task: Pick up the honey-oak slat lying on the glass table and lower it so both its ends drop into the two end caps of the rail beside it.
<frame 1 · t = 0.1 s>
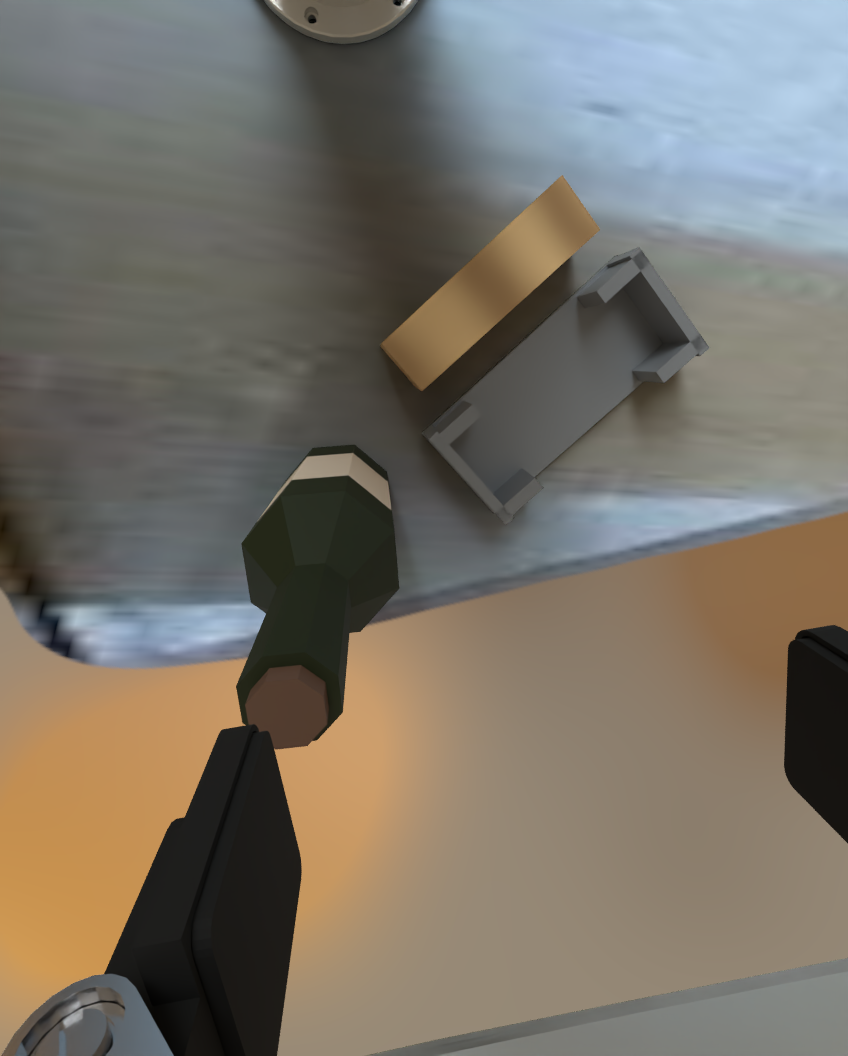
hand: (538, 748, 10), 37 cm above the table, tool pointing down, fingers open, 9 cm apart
wine bottle: (339, 494, 47), on the table
end-cap rail: (550, 390, 46), on the table
slat: (474, 296, 44), on the table
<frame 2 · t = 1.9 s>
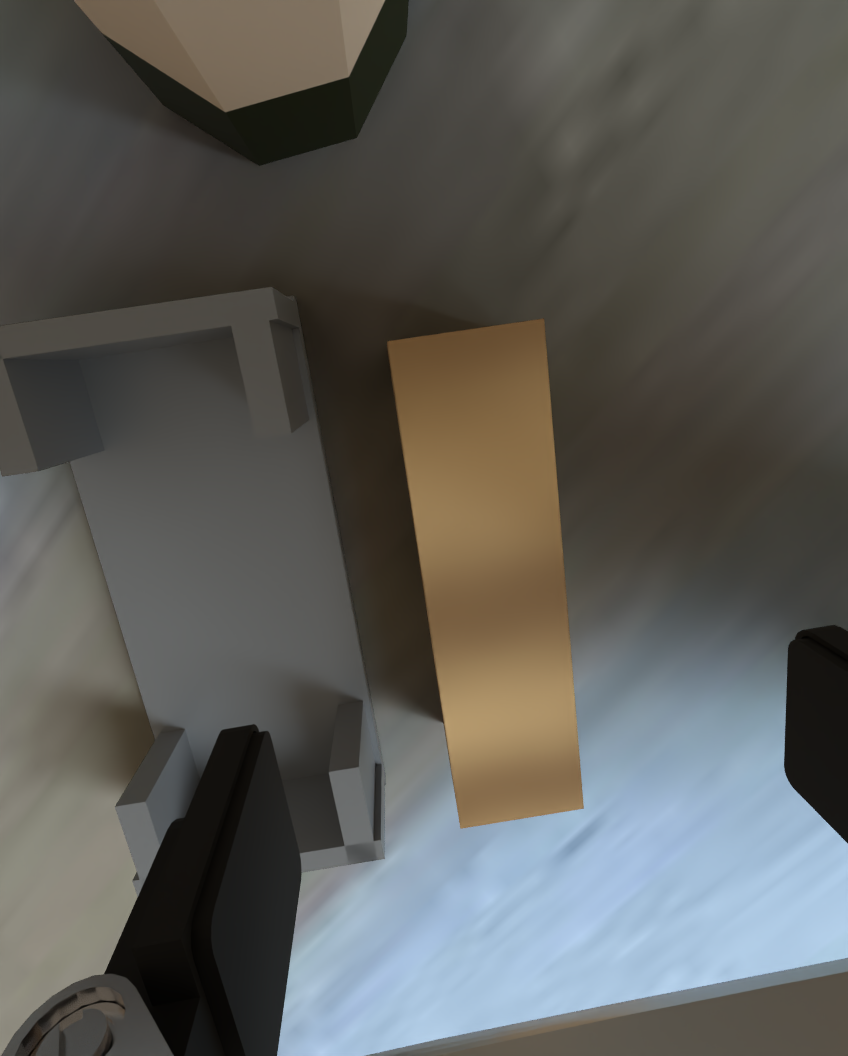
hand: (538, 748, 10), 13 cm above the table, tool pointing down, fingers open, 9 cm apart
wine bottle: (268, 13, 18), on the table
end-cap rail: (233, 581, 22), on the table
slat: (469, 542, 23), on the table
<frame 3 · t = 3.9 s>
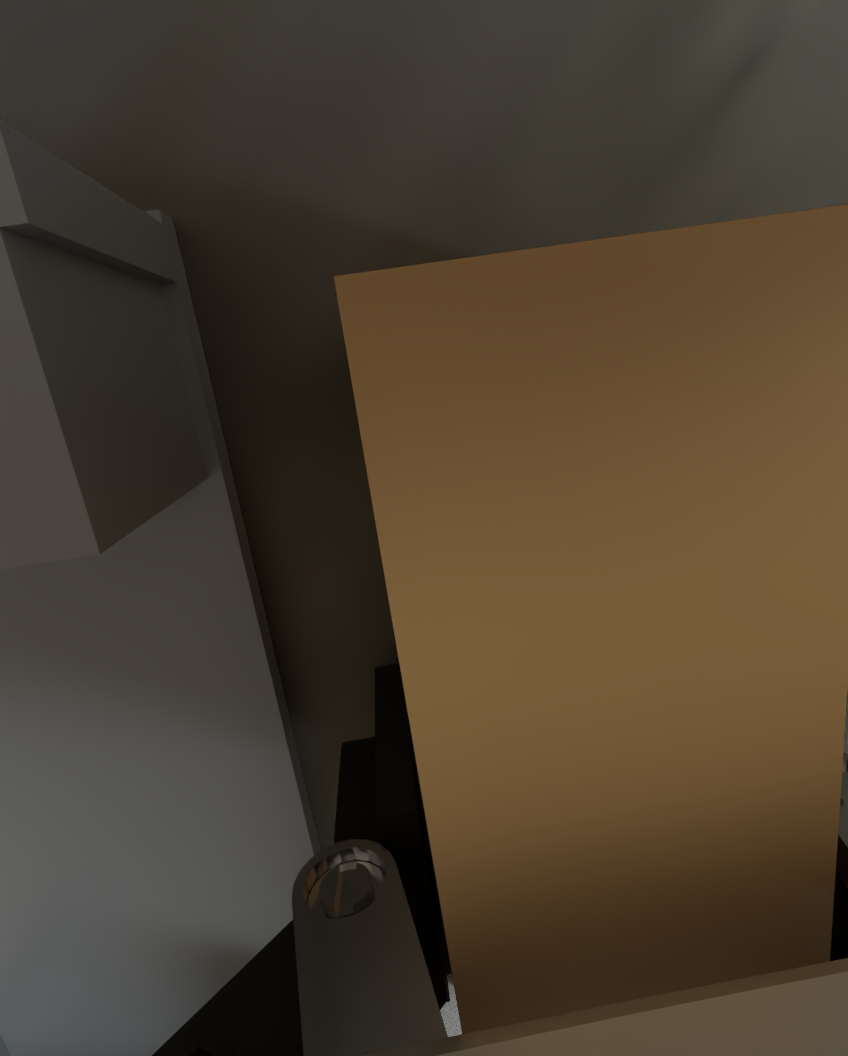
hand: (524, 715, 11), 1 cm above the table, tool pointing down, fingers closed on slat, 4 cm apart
end-cap rail: (80, 775, 12), on the table
slat: (517, 698, 12), on the table, touching gripper
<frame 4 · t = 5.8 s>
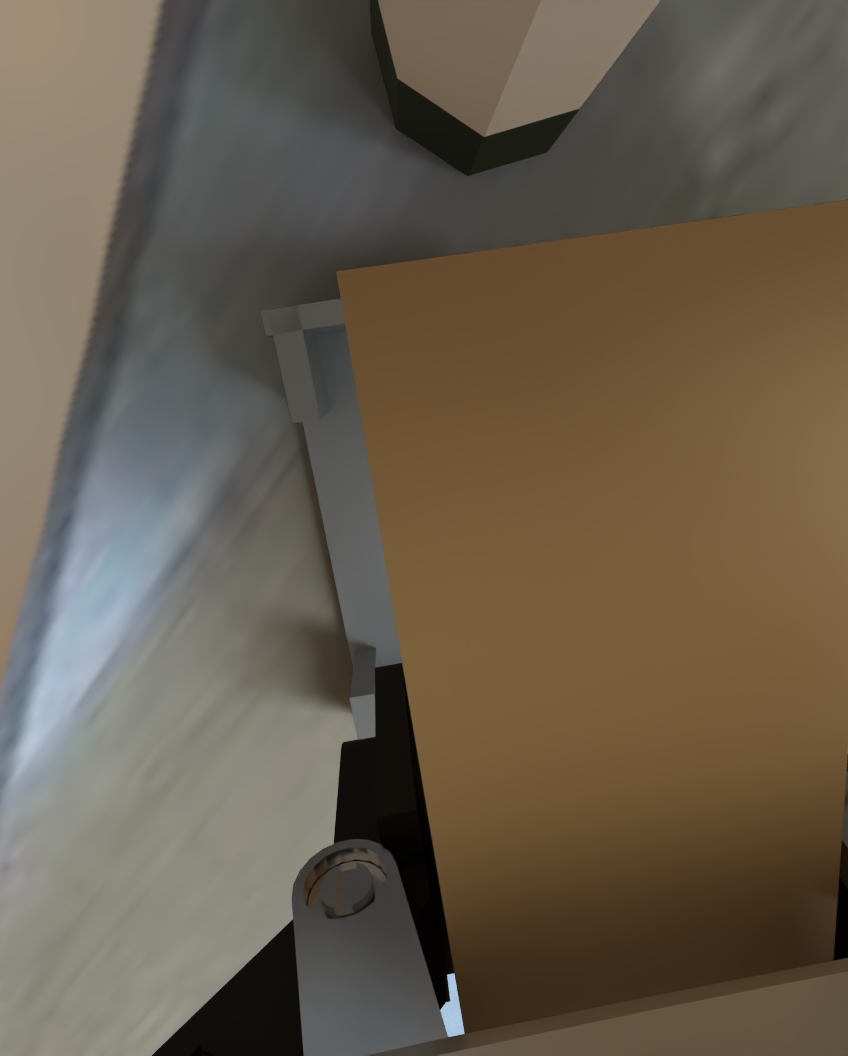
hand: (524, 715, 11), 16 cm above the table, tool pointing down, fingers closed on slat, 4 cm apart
wine bottle: (482, 53, 22), on the table
end-cap rail: (421, 521, 27), on the table
slat: (518, 696, 12), point 15 cm above the table, touching gripper
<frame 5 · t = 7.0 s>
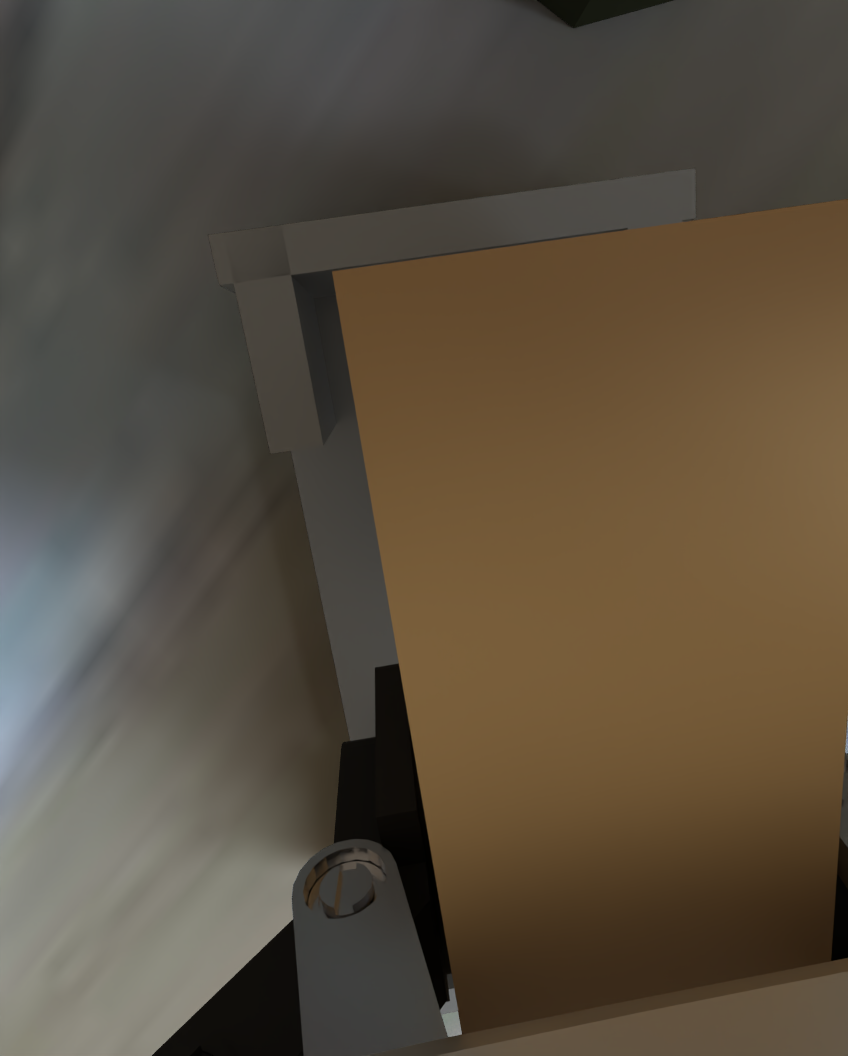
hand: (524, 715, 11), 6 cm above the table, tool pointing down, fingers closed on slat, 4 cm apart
end-cap rail: (474, 596, 17), on the table
slat: (517, 697, 12), point 5 cm above the table, touching gripper
when the fingers open (2 cm above the table, at t = 8.0 s): slat stays where it is, resting on end-cap rail.
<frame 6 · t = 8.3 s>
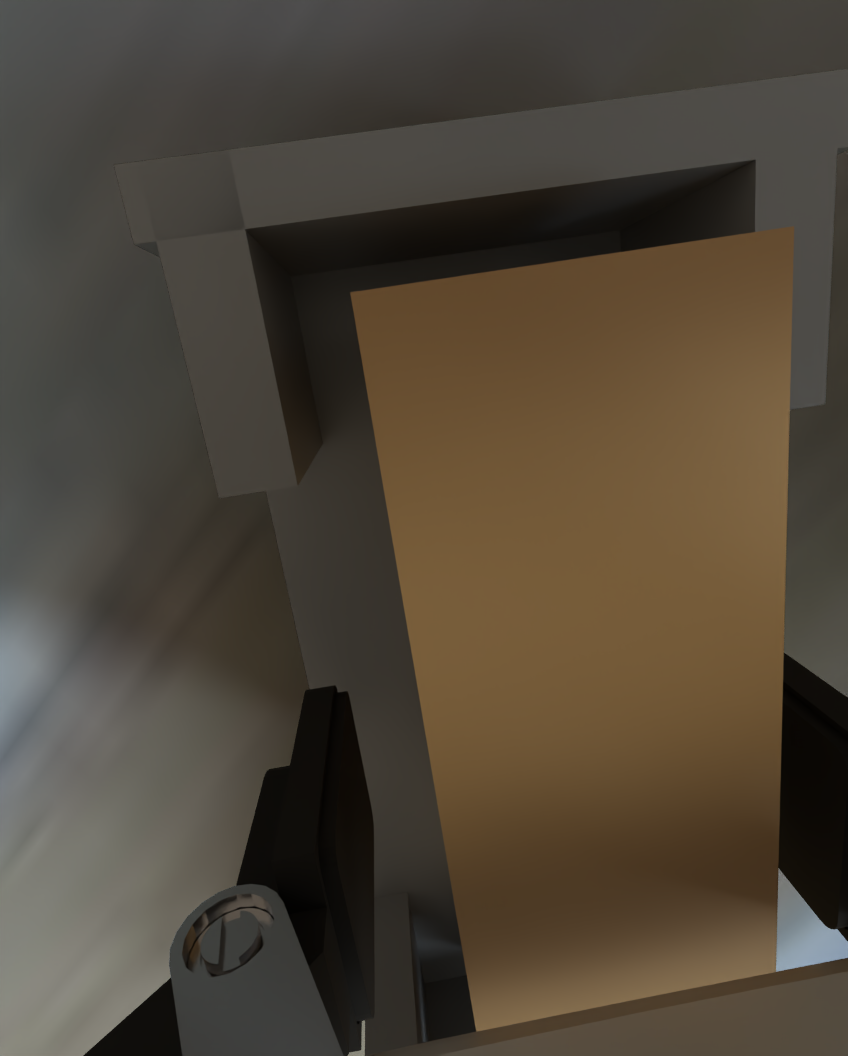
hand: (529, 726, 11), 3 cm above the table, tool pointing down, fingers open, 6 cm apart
end-cap rail: (499, 658, 14), on the table
slat: (511, 670, 13), point 1 cm above the table, touching end-cap rail
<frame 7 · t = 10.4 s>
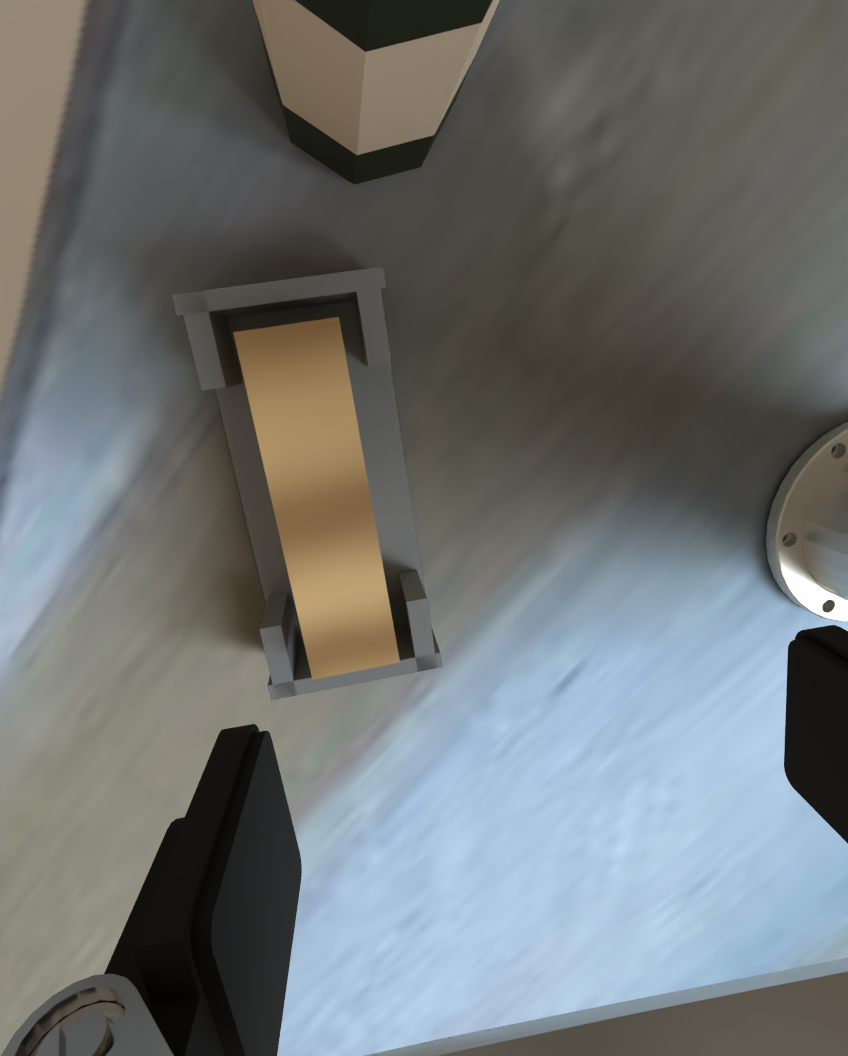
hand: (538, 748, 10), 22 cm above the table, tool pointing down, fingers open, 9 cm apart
wine bottle: (363, 82, 27), on the table
end-cap rail: (324, 481, 31), on the table
slat: (327, 483, 31), point 1 cm above the table, touching end-cap rail
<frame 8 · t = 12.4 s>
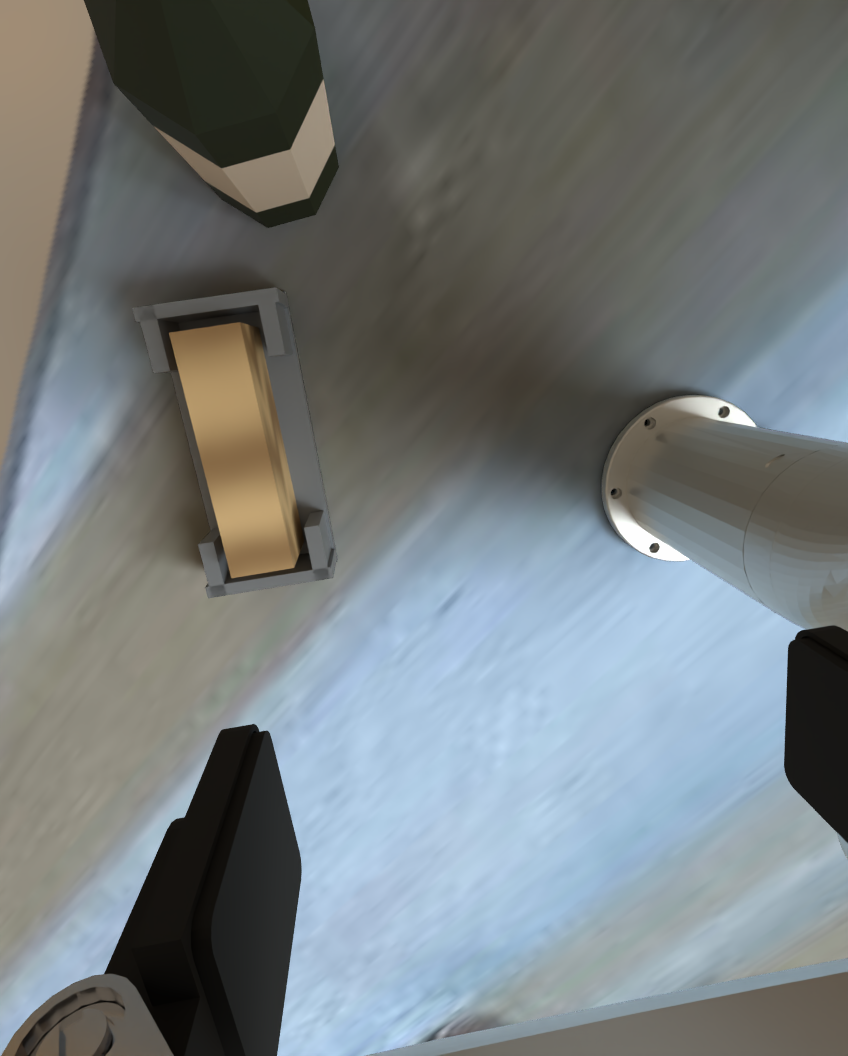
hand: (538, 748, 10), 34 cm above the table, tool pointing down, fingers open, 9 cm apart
wine bottle: (272, 156, 38), on the table
end-cap rail: (253, 443, 42), on the table
slat: (254, 444, 42), point 1 cm above the table, touching end-cap rail
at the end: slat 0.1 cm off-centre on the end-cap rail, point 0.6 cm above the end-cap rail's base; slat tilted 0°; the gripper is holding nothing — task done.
